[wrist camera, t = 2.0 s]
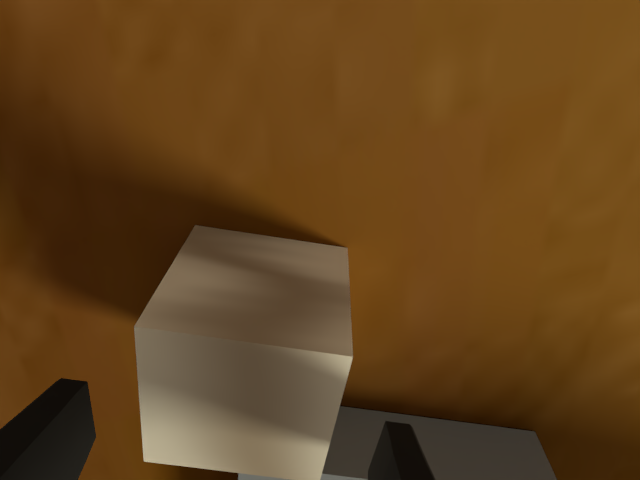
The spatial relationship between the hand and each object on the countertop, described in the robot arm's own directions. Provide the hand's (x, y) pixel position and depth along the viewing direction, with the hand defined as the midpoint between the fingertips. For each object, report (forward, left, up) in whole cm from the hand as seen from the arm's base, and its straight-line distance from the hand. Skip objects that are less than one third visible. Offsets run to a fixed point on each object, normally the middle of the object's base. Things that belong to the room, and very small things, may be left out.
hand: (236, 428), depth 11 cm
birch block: (0, 0, -6) cm, 6 cm away
